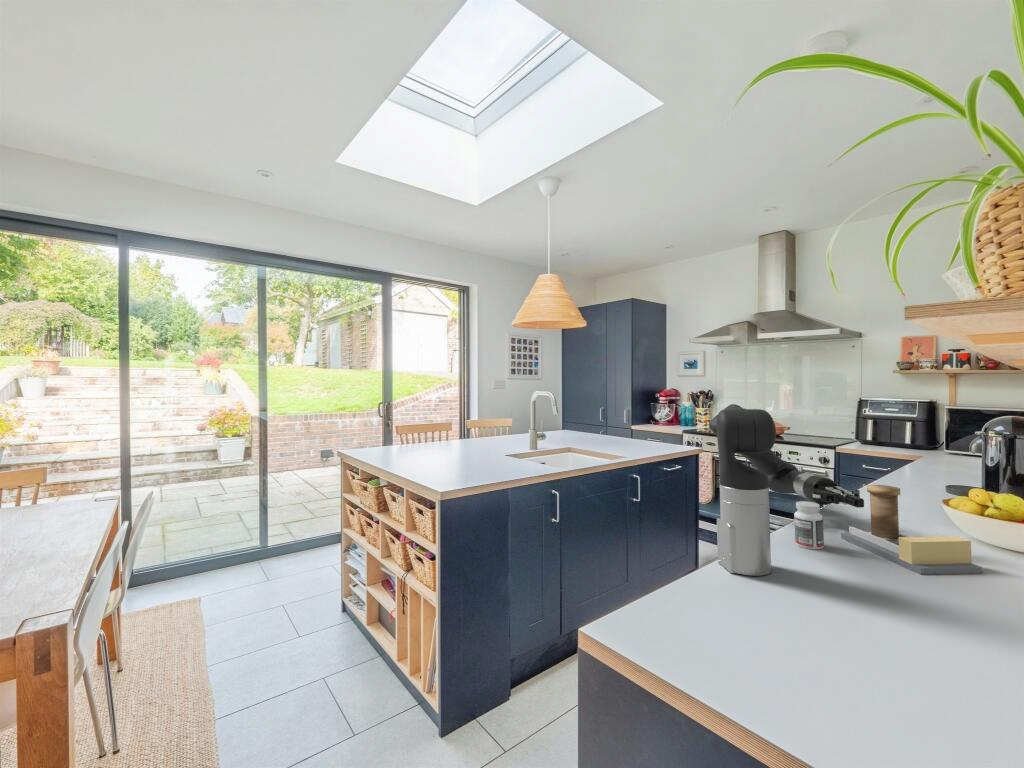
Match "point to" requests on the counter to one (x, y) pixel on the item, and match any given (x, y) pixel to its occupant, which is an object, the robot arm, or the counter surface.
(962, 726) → the counter surface
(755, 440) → the robot arm
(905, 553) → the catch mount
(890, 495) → the knob
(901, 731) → the counter surface
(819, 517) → the pill bottle
